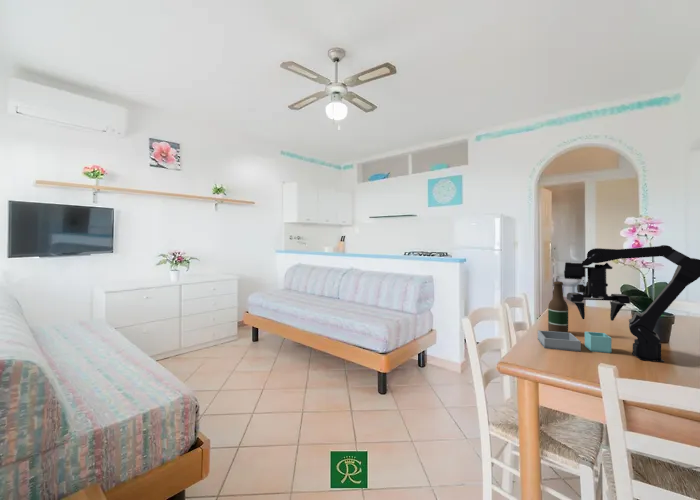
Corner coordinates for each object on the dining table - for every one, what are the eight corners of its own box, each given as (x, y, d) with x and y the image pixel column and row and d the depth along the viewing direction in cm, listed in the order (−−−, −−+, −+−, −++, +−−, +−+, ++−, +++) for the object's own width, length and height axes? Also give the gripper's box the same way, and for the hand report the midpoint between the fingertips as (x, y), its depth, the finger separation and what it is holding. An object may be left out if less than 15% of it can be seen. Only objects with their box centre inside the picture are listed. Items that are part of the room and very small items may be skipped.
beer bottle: (544, 331, 142) (544, 281, 142) (556, 329, 145) (556, 280, 144) (560, 336, 135) (560, 283, 134) (572, 334, 137) (572, 282, 137)
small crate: (604, 347, 119) (604, 332, 119) (611, 353, 113) (611, 337, 113) (584, 346, 121) (584, 331, 121) (590, 351, 115) (590, 336, 115)
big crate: (570, 342, 126) (570, 332, 126) (580, 351, 115) (580, 341, 115) (537, 339, 131) (537, 330, 131) (544, 348, 120) (544, 338, 119)
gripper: (616, 278, 121) (616, 316, 121) (562, 277, 128) (562, 313, 128) (631, 281, 111) (631, 323, 111) (571, 280, 117) (571, 320, 117)
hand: (597, 319), depth 117 cm, fingers open, 9 cm apart
